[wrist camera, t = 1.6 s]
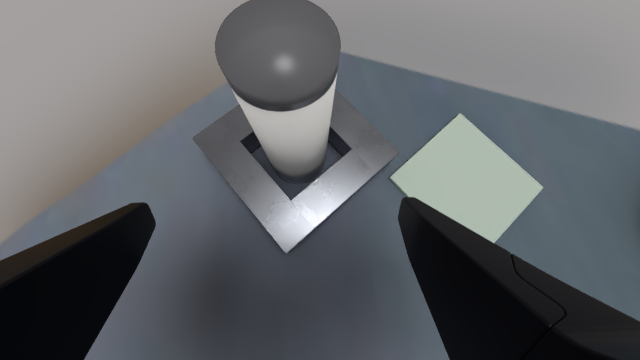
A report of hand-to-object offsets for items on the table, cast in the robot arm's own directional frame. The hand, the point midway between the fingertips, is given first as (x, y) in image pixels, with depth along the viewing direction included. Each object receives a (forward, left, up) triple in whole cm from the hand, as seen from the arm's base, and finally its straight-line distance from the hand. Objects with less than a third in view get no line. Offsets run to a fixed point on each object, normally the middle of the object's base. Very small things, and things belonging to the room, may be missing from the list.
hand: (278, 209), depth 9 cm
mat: (-7, -14, -13) cm, 20 cm away
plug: (+5, -4, -13) cm, 14 cm away
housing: (+5, -4, -13) cm, 14 cm away
